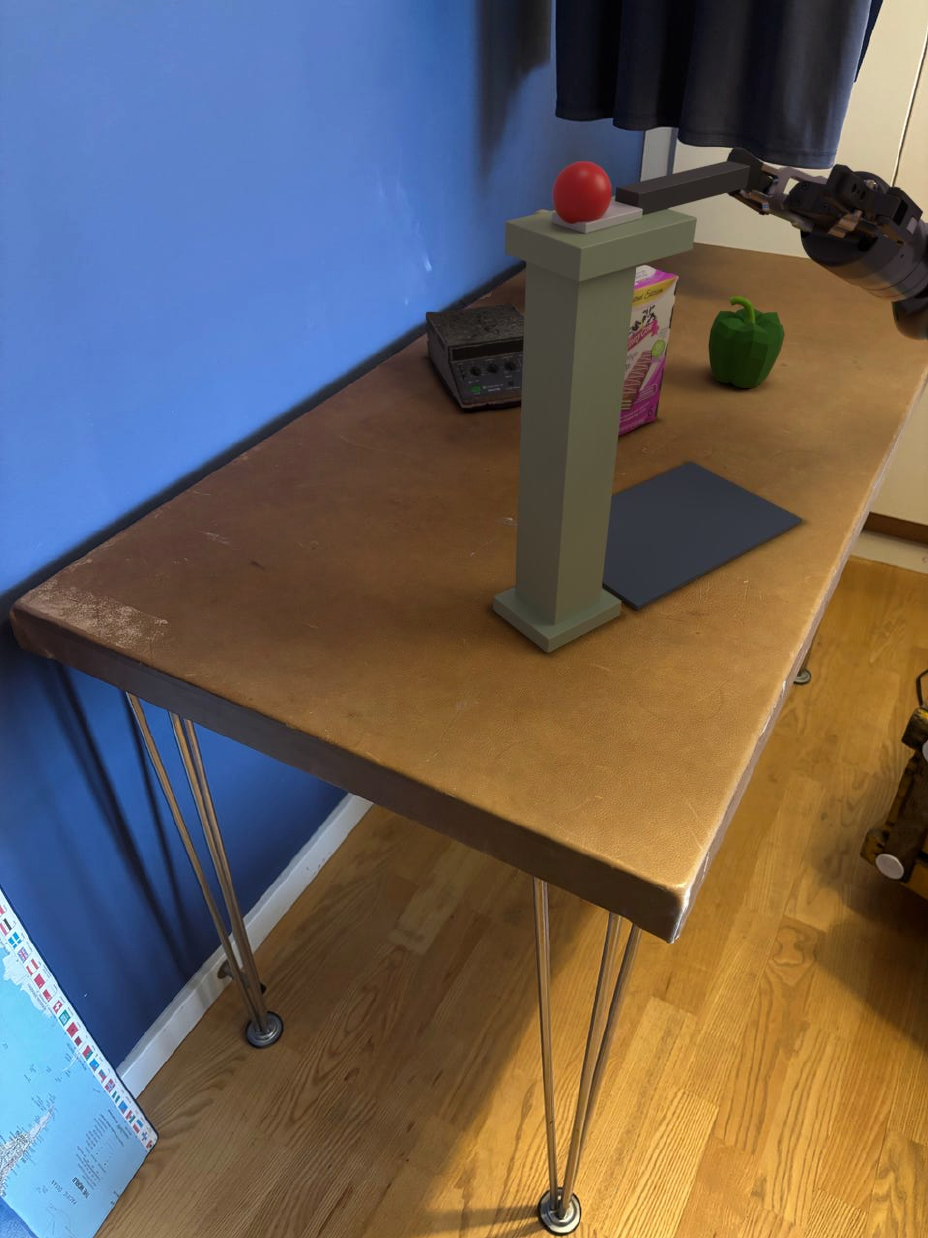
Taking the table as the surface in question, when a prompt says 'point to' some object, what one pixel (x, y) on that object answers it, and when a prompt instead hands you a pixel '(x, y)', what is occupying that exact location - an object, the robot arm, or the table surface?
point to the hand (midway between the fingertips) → (779, 169)
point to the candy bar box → (647, 346)
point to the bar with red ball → (634, 193)
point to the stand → (573, 412)
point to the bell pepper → (744, 344)
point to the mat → (682, 531)
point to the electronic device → (478, 354)
